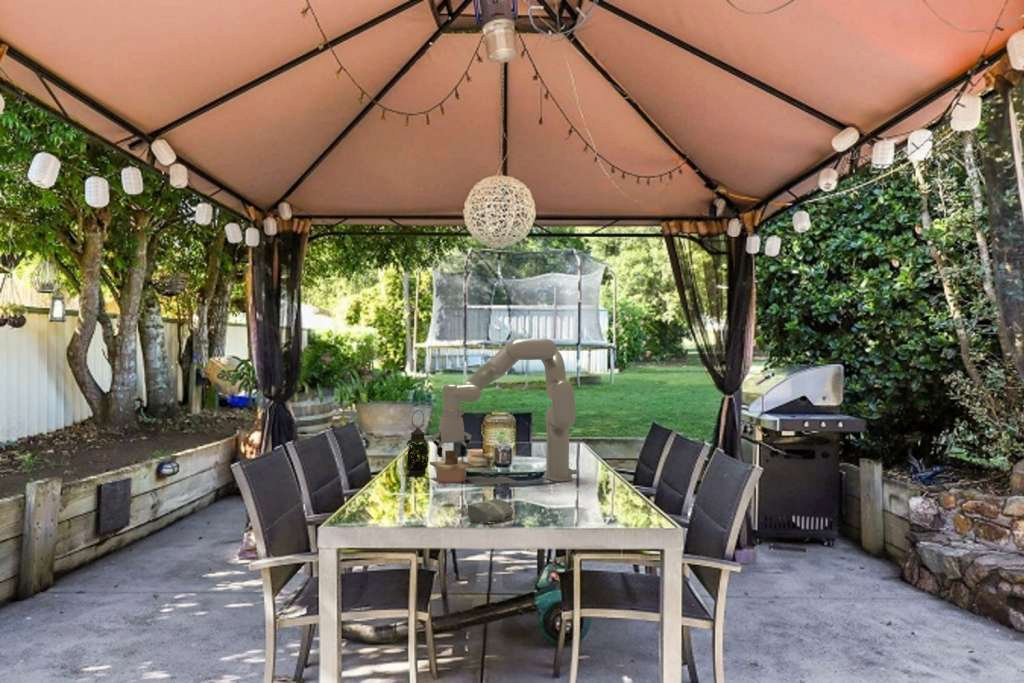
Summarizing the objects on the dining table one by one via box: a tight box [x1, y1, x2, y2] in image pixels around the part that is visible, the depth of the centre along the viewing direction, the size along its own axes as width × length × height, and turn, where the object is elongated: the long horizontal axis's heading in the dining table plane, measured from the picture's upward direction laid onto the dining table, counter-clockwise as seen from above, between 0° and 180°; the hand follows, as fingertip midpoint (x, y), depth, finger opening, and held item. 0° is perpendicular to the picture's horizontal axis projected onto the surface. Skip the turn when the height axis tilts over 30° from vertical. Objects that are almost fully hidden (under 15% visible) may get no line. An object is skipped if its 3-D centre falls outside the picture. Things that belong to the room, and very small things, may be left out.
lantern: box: [406, 409, 430, 478], centre depth 311 cm, size 10×9×28 cm
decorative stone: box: [466, 498, 514, 524], centre depth 232 cm, size 13×10×6 cm
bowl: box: [435, 468, 467, 483], centre depth 296 cm, size 11×11×7 cm
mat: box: [465, 475, 519, 486], centre depth 297 cm, size 18×18×1 cm
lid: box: [429, 450, 475, 470], centre depth 296 cm, size 14×14×6 cm
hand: (451, 456), depth 296 cm, fingers open, 9 cm apart
